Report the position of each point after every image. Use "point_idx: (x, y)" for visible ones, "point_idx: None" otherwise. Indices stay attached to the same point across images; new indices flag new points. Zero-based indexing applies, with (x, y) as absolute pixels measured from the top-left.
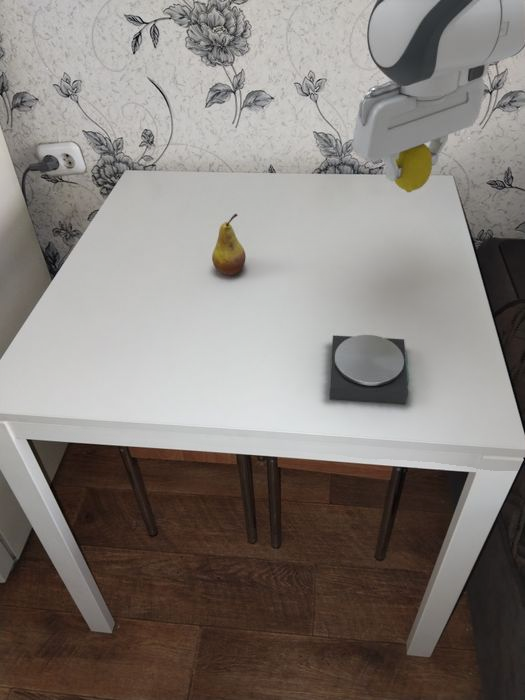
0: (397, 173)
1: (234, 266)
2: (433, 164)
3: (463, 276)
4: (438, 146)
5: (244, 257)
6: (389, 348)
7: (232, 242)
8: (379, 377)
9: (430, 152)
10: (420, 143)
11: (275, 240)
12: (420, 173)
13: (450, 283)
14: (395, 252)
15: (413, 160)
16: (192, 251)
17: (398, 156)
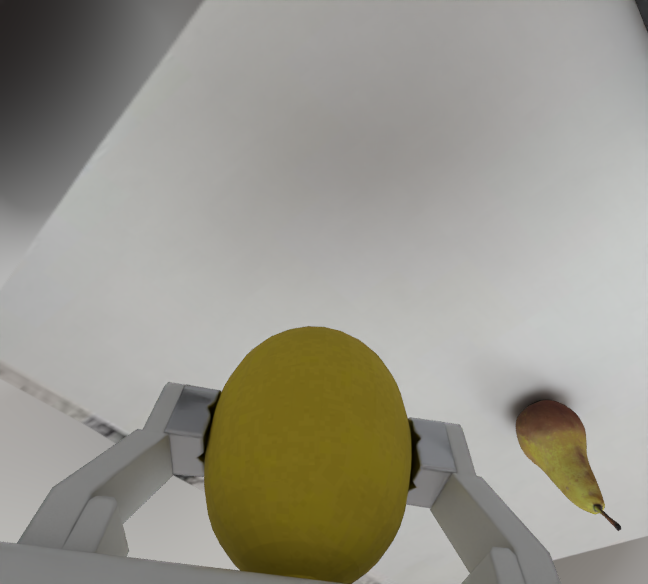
0: (448, 450)
1: (572, 415)
2: (193, 389)
3: (208, 61)
4: (128, 475)
5: (544, 420)
6: None
7: (580, 462)
8: None
9: (221, 469)
10: None
11: (409, 414)
12: (360, 386)
13: (261, 69)
14: (268, 249)
15: (387, 483)
16: (523, 468)
17: (496, 563)
